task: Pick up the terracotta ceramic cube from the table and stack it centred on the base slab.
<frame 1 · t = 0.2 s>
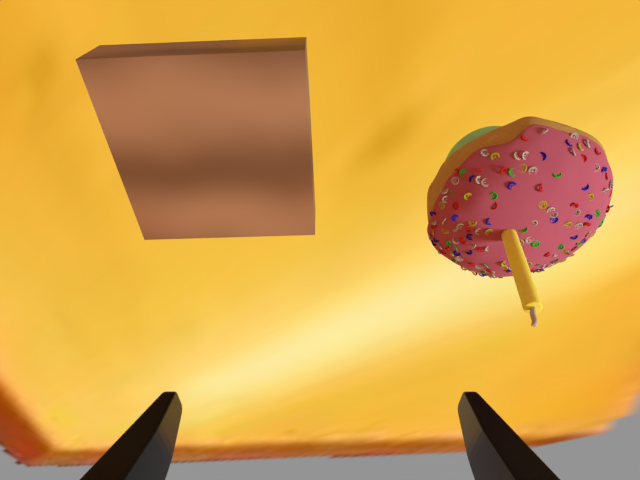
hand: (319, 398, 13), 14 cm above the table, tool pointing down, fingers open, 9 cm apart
base: (221, 138, 23), on the table
cupcake: (485, 160, 24), on the table
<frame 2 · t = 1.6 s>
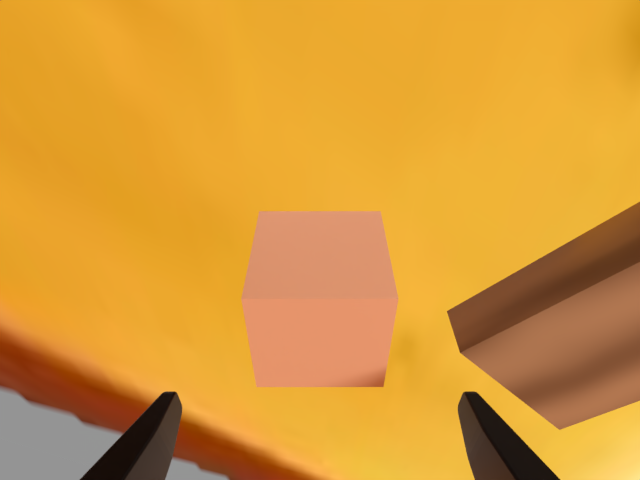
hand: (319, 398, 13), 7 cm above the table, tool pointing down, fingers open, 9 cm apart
base: (587, 311, 21), on the table
cube: (319, 256, 19), on the table
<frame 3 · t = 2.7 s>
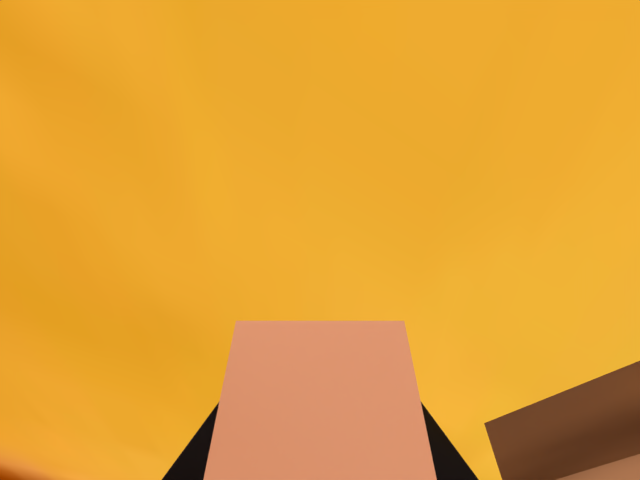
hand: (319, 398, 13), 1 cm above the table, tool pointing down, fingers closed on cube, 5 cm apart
cube: (320, 369, 14), on the table, touching gripper
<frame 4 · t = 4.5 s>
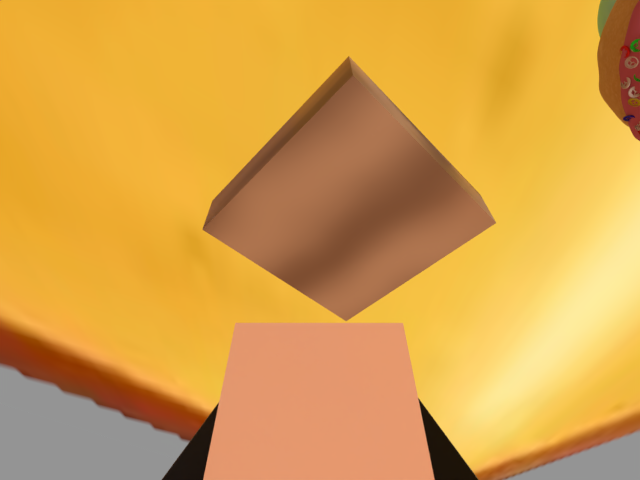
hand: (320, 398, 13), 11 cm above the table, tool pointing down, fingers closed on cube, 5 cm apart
base: (345, 197, 22), on the table
cube: (319, 371, 14), point 10 cm above the table, touching gripper
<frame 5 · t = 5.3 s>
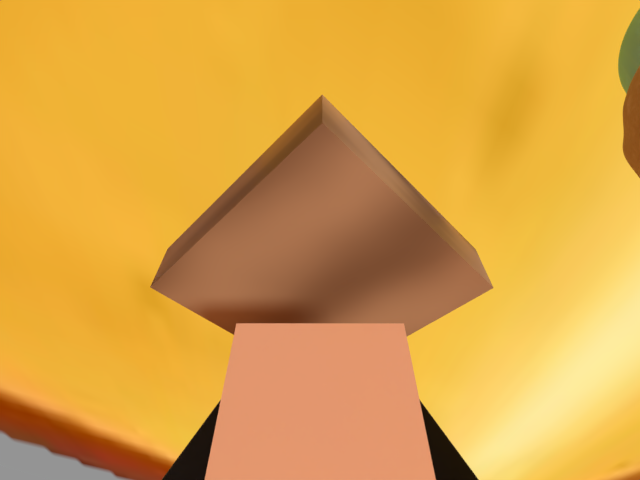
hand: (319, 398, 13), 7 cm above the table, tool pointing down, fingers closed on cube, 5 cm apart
base: (321, 248, 19), on the table
cube: (320, 372, 14), point 6 cm above the table, touching gripper
when the fingers open (4 cm above the table, at t = 6.2 s): cube stays where it is, resting on base.
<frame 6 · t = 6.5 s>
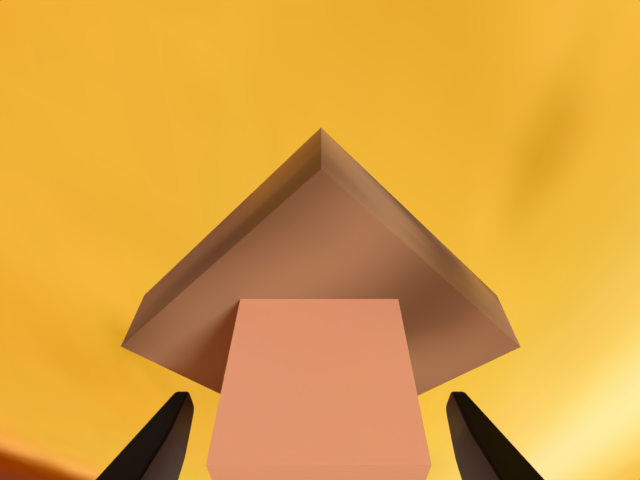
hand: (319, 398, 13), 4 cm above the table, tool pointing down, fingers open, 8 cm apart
base: (320, 295, 16), on the table
cube: (319, 347, 15), point 2 cm above the table, touching base
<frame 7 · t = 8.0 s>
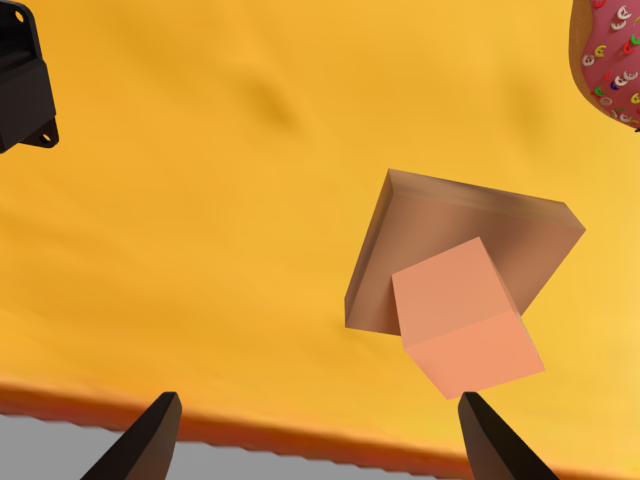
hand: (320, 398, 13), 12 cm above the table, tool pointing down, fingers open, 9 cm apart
base: (443, 255, 25), on the table
cube: (452, 285, 23), point 2 cm above the table, touching base
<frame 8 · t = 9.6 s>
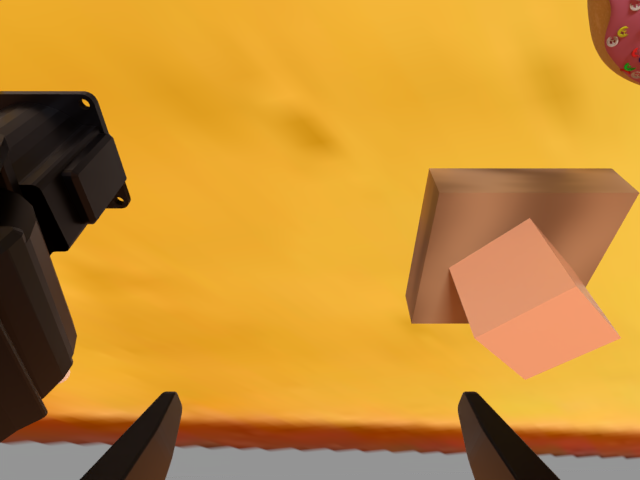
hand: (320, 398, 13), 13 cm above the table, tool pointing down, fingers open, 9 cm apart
base: (495, 239, 26), on the table
cube: (510, 267, 24), point 2 cm above the table, touching base
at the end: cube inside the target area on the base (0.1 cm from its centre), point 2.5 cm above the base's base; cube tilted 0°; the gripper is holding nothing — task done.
